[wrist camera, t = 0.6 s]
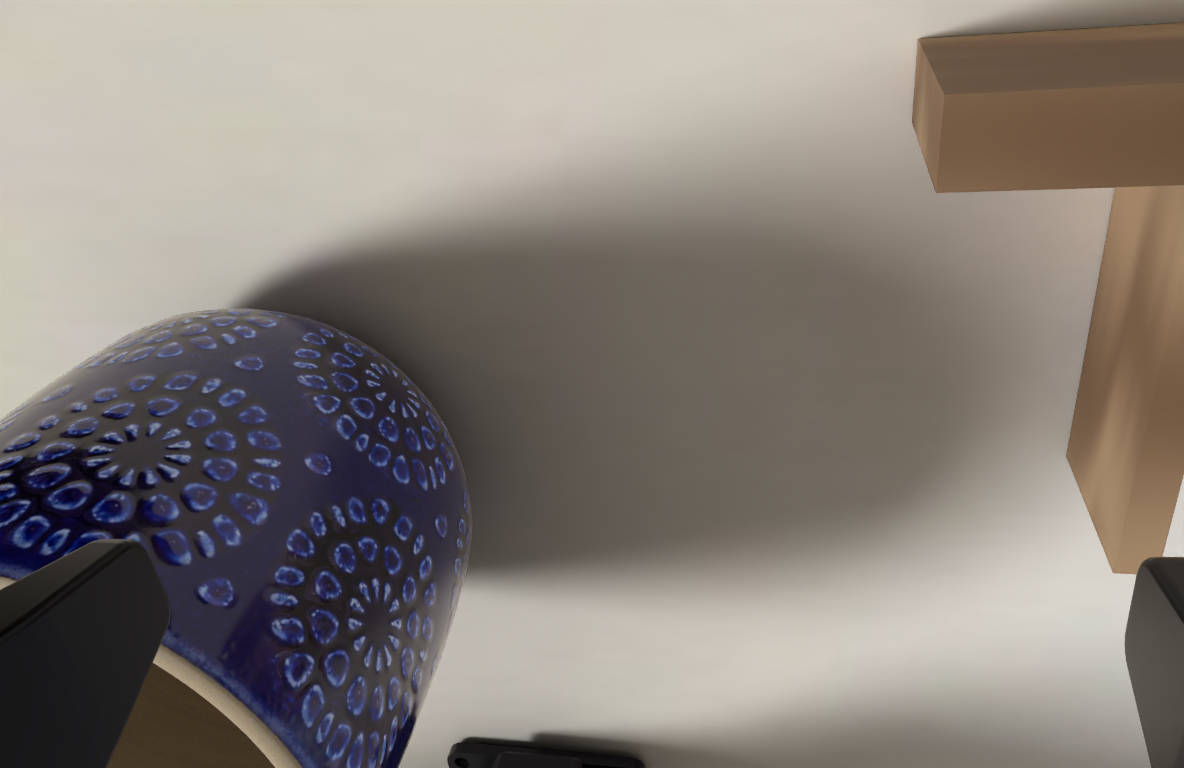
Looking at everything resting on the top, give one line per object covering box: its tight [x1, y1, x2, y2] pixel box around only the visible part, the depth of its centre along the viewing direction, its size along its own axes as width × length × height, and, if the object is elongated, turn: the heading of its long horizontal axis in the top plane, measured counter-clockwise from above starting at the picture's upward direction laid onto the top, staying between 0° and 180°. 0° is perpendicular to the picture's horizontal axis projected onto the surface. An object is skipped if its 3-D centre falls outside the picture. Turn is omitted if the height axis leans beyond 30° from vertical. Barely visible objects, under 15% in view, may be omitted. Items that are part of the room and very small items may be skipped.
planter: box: [0, 308, 472, 768], centre depth 22 cm, size 11×11×11 cm
